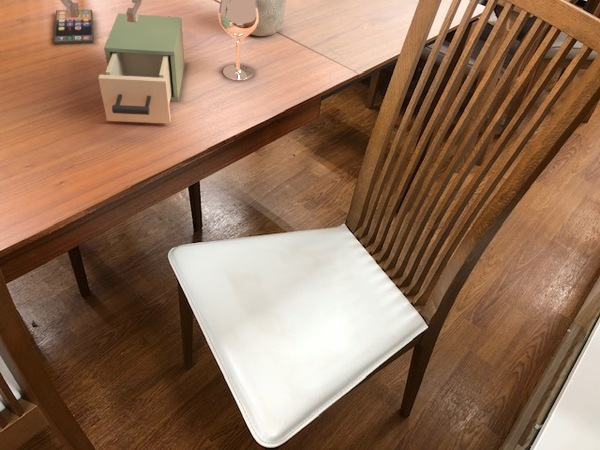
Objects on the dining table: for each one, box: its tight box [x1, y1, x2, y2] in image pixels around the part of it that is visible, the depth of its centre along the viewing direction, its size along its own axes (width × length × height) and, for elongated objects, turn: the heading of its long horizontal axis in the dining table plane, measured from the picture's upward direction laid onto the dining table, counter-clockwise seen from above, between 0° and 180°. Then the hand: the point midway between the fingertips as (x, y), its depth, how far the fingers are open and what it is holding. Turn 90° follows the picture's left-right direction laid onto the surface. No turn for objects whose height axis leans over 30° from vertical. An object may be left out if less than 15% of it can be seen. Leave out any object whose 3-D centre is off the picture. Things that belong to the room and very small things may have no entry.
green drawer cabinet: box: [103, 12, 186, 102], centre depth 102 cm, size 15×13×11 cm
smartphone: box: [53, 9, 94, 45], centre depth 117 cm, size 8×15×1 cm, turn 16°
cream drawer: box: [97, 52, 173, 124], centre depth 94 cm, size 18×11×9 cm, turn 4°
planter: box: [250, 0, 287, 37], centre depth 123 cm, size 12×12×11 cm
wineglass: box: [217, 0, 259, 81], centre depth 105 cm, size 8×8×18 cm
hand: (103, 18), depth 85 cm, fingers open, 8 cm apart
